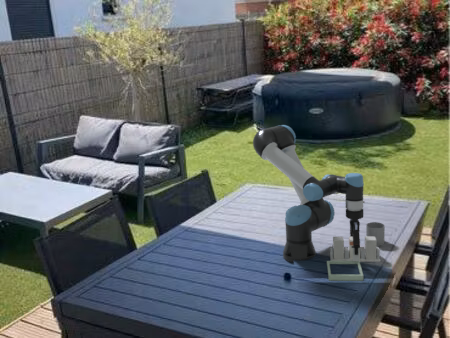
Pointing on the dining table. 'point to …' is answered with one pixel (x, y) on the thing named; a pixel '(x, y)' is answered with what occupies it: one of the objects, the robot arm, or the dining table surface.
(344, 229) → the dining table surface
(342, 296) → the dining table surface
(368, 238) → the block
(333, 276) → the tray
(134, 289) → the dining table surface
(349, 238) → the block
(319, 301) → the dining table surface
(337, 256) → the block
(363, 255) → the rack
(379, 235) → the cup
